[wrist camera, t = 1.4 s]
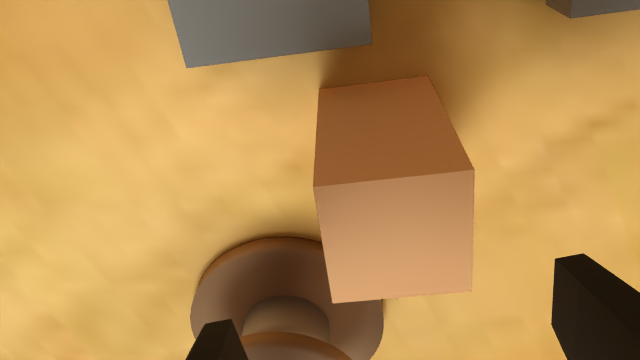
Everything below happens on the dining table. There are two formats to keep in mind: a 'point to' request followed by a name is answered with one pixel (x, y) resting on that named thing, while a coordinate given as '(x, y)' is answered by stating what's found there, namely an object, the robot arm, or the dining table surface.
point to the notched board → (299, 26)
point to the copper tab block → (392, 192)
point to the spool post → (285, 304)
